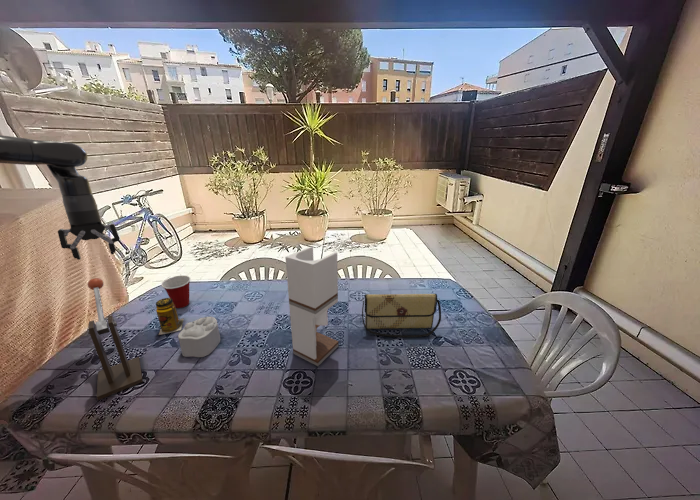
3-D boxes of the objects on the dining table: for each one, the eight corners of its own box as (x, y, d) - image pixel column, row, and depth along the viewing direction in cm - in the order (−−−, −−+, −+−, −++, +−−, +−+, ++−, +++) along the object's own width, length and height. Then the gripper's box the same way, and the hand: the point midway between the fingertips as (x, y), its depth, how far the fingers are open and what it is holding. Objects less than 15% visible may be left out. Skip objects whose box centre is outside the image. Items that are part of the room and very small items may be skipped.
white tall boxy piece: (317, 366, 86) (313, 264, 74) (293, 353, 91) (285, 256, 80) (338, 346, 95) (337, 252, 83) (315, 335, 100) (310, 246, 89)
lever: (88, 284, 83) (85, 277, 81) (104, 281, 86) (101, 274, 83) (96, 337, 75) (92, 330, 72) (113, 332, 77) (110, 325, 74)
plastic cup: (162, 312, 114) (156, 287, 110) (173, 300, 124) (167, 276, 120) (190, 310, 116) (185, 285, 112) (198, 297, 126) (193, 274, 122)
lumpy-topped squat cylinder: (177, 356, 90) (171, 334, 87) (200, 332, 102) (196, 312, 99) (207, 357, 89) (203, 335, 86) (227, 333, 102) (223, 313, 99)
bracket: (99, 374, 82) (77, 318, 76) (139, 359, 88) (123, 306, 82) (97, 400, 74) (73, 340, 67) (143, 381, 80) (124, 324, 73)
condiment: (158, 335, 100) (150, 307, 96) (163, 323, 108) (155, 296, 104) (181, 330, 103) (174, 303, 99) (184, 318, 110) (178, 292, 106)
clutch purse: (361, 338, 99) (362, 302, 94) (360, 326, 106) (361, 292, 101) (441, 337, 100) (446, 301, 95) (435, 325, 107) (440, 291, 102)
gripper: (47, 212, 80) (65, 264, 85) (110, 207, 89) (123, 254, 94) (52, 210, 86) (68, 258, 91) (110, 205, 94) (123, 249, 99)
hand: (96, 256), depth 92 cm, fingers open, 8 cm apart
